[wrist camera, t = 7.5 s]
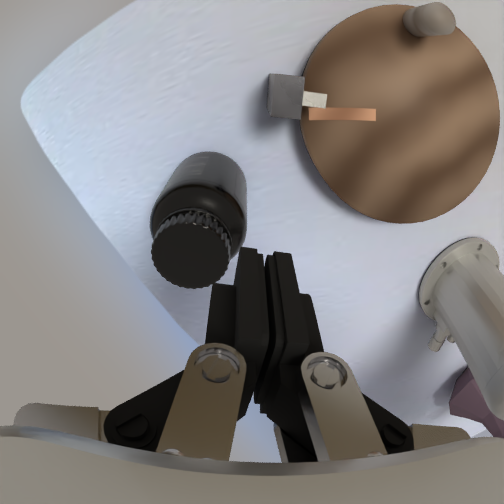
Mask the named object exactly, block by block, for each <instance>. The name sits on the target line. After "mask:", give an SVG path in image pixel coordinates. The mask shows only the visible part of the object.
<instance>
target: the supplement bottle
mask: <svg viewBox="0 0 504 504" xmlns="http://www.w3.org/2000/svg"><path fill="white" fill-rule="evenodd" d="M150 231H151V235H152V238H153V243H152V250H151V254H152V260H153V262H154V266H155V267H156V268H157V271H158V272H159V273H160V274H161V276H162V277H164V278H165V279H166V280H167V281H169V282H171V283H172V284H174V285H178V286H179V287H185V288H192V289H196V288H203V287H208V286H210V285H211V284H213V283H215V282H216V281H218V280H220V278H221V277H222V276H223V275H224V274H225V271H226V270H227V269H228V264H229V262H230V260H231V259H232V258H233V257H234V256H235V255H236V254H237V253H238V252H239V250H240V247H242V245H243V243H244V240H245V237H246V231H247V187H246V180H245V177H244V174H243V172H242V170H241V169H240V167H239V166H238V165H237V164H236V163H235V162H234V161H233V160H232V159H231V158H229V157H227V156H225V155H223V154H220V153H217V152H200V153H196V154H194V155H191V156H189V157H188V158H186V159H185V160H184V161H183V162H182V163H181V164H180V165H179V166H178V167H177V169H176V170H175V171H174V173H173V175H172V176H171V178H170V179H169V181H168V182H167V184H166V186H165V187H164V189H163V191H162V192H161V194H160V195H159V197H158V199H157V200H156V202H155V204H154V207H153V209H152V212H151V216H150Z"/></svg>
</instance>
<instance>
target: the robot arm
mask: <svg viewBox="0 0 504 504" xmlns="http://www.w3.org/2000/svg"><path fill="white" fill-rule="evenodd" d="M419 302H420V305H421V308H422V309H423V311H424V313H425V314H426V315H427V316H428V317H429V318H431V319H432V320H435V321H437V325H436V332H435V334H434V335H433V336H432V338H431V340H430V342H429V343H428V347H429V349H431V350H432V351H434V352H437V351H439V350H440V348H441V346H442V345H443V343H444V341H445V338H446V337H447V336H448V337H447V340H448V341H449V342H451V343H454V342H455V343H456V344H457V346H458V348H459V350H460V352H461V354H462V355H463V357H464V359H465V361H466V363H467V365H468V367H469V369H470V371H471V373H472V375H473V377H474V379H475V381H476V383H477V385H478V387H479V389H480V391H481V393H482V395H483V397H484V400H485V402H486V404H487V406H488V408H489V409H490V411H491V412H492V413H493V414H494V415H495V416H496V417H498V418H499V419H501V420H504V275H503V274H502V273H501V272H500V271H499V256H498V253H497V251H496V249H495V248H494V247H493V246H492V245H491V244H490V243H489V242H488V241H486V240H484V239H482V238H468V239H464V240H461V241H459V242H457V243H455V244H453V245H452V246H450V247H449V248H447V249H446V250H445V251H443V252H442V253H441V254H440V255H439V256H438V257H437V258H436V259H435V261H434V262H433V263H432V264H431V266H430V267H429V269H428V270H427V272H426V274H425V276H424V278H423V280H422V283H421V286H420V291H419ZM253 392H254V403H255V404H260V413H265V414H267V417H268V418H269V419H270V420H272V421H273V422H274V432H275V437H276V441H277V445H278V449H279V453H280V457H281V461H282V463H258V462H257V463H255V462H236V461H229V457H230V452H231V447H232V442H233V437H234V432H235V427H236V422H237V421H238V420H239V419H241V418H242V417H243V416H245V414H246V411H247V408H248V405H249V403H250V401H251V398H252V395H253ZM0 504H504V439H503V438H498V437H478V438H470V436H469V435H468V433H467V432H466V431H465V430H463V429H462V428H458V427H446V426H432V425H421V424H412V425H411V426H407V425H406V424H405V423H404V422H403V421H402V420H400V419H399V418H397V417H396V416H394V415H393V414H392V413H390V412H389V411H387V410H386V409H384V408H383V407H381V406H380V405H378V404H377V403H376V402H374V401H373V400H371V399H370V398H368V397H367V396H366V395H364V394H363V393H361V391H360V388H359V386H358V384H357V382H356V379H355V377H354V375H353V373H352V370H351V369H350V367H349V366H348V364H347V363H346V362H345V361H344V360H343V359H342V358H340V357H338V356H336V355H334V354H331V353H328V352H324V349H323V345H322V341H321V336H320V332H319V328H318V323H317V319H316V315H315V311H314V307H313V303H312V299H311V296H310V295H309V294H301V293H299V288H298V283H297V279H296V274H295V269H294V265H293V260H292V255H291V254H290V253H283V252H276V251H274V253H273V255H267V257H266V261H265V266H264V260H263V254H258V253H257V249H254V248H247V247H240V251H239V256H238V262H237V268H236V273H235V279H234V285H226V284H219V283H213V285H212V292H211V300H210V308H209V316H208V324H207V332H206V340H205V344H204V345H202V346H199V347H197V348H196V349H195V350H194V351H193V352H192V353H191V355H190V356H189V359H188V361H187V364H186V367H185V370H183V371H181V372H179V373H178V374H176V375H174V376H172V377H170V378H169V379H167V380H165V381H163V382H161V383H160V384H158V385H157V386H154V387H152V388H150V389H149V390H147V391H145V392H143V393H141V394H139V395H137V396H136V397H134V398H132V399H130V400H128V401H126V402H124V403H122V404H120V405H118V406H117V407H115V408H114V409H112V410H111V411H103V410H99V408H98V407H80V406H64V405H52V404H41V403H32V404H31V403H30V404H27V405H25V406H23V407H21V409H20V410H19V411H18V412H17V414H16V416H15V419H14V425H12V426H0Z"/></svg>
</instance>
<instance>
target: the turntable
mask: <svg viewBox="0 0 504 504" xmlns="http://www.w3.org/2000/svg"><path fill="white" fill-rule="evenodd" d="M303 77H305V83H304V91H308V92H315V93H322V94H327V100H326V109H325V108H318V107H310V106H302V111H301V120H300V126H301V132H302V135H303V139H304V142H305V146H306V148H307V150H308V153H309V155H310V157H311V159H312V161H313V163H314V164H315V166H316V168H317V170H318V171H319V173H320V174H321V176H322V178H323V179H324V180H325V182H326V183H327V184H328V185H329V187H330V188H331V189H332V190H333V191H334V192H335V193H336V194H337V195H338V197H339V198H340V199H341V200H343V201H344V202H345V203H347V204H348V205H349V206H351V207H352V208H353V209H355V210H357V211H359V212H360V213H362V214H364V215H366V216H369V217H371V218H374V219H377V220H381V221H385V222H390V223H399V224H402V223H416V222H423V221H426V220H430V219H433V218H436V217H438V216H440V215H442V214H445V213H446V212H448V211H450V210H451V209H453V208H455V207H456V206H457V205H459V204H460V203H461V202H462V201H464V200H465V199H466V198H467V197H468V196H469V195H470V194H471V193H472V192H473V190H474V189H475V188H476V187H477V185H478V184H479V183H480V181H481V180H482V178H483V177H484V175H485V173H486V172H487V170H488V167H489V165H490V163H491V161H492V158H493V155H494V152H495V149H496V145H497V141H498V135H499V126H500V110H499V101H498V95H497V91H496V86H495V83H494V80H493V77H492V74H491V72H490V70H489V68H488V66H487V64H486V62H485V60H484V58H483V57H482V55H481V53H480V52H479V50H478V49H477V48H476V46H475V45H474V44H473V43H472V41H471V40H470V39H469V38H468V37H467V36H466V35H465V34H464V33H463V32H462V31H461V30H460V29H459V28H457V27H456V21H455V17H454V15H453V13H452V11H451V10H450V9H449V8H448V7H447V6H446V5H444V4H442V3H439V2H434V3H430V4H426V5H422V6H418V7H414V6H408V5H397V4H396V5H382V6H378V7H373V8H369V9H366V10H364V11H362V12H359V13H357V14H355V15H352V16H350V17H348V18H347V19H345V20H344V21H342V22H340V23H339V24H337V25H336V26H335V27H334V28H333V29H331V30H330V31H329V32H328V33H327V34H326V35H325V36H324V37H323V39H322V40H321V41H320V42H319V43H318V45H317V46H316V48H315V49H314V51H313V53H312V54H311V56H310V58H309V60H308V63H307V65H306V68H305V70H304V73H303Z"/></svg>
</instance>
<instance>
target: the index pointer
mask: <svg viewBox="0 0 504 504" xmlns="http://www.w3.org/2000/svg"><path fill="white" fill-rule="evenodd" d="M304 83H305V77H301V76H292V75H283V74H269V84H268V96H267V110H268V112H269V114H270V116H271V117H280V118H290V119H299V120H301V111H302V106H310V107H318V108H325V109H326V100H327V94H322V93H315V92H308V91H304Z"/></svg>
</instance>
